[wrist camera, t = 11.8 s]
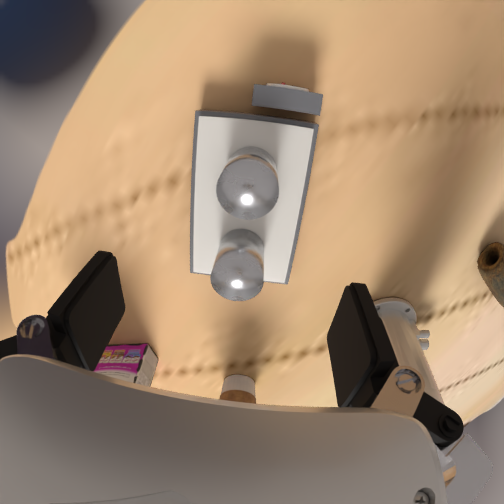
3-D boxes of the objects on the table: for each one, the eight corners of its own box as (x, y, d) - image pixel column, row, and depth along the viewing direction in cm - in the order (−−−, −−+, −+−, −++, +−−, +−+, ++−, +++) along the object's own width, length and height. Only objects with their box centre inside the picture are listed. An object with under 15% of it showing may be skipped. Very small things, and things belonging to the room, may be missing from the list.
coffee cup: (235, 364, 48) (226, 441, 35) (270, 382, 50) (269, 454, 37) (208, 382, 51) (197, 450, 38) (242, 398, 54) (237, 462, 41)
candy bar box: (115, 360, 50) (88, 427, 36) (102, 344, 48) (70, 412, 34) (161, 360, 49) (137, 436, 34) (148, 342, 46) (119, 421, 32)
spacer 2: (267, 231, 31) (266, 261, 26) (261, 269, 33) (259, 303, 28) (220, 225, 31) (211, 254, 26) (218, 264, 33) (209, 297, 28)
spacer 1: (279, 149, 26) (282, 164, 21) (273, 196, 29) (275, 222, 24) (227, 144, 26) (217, 158, 21) (224, 192, 29) (215, 216, 24)
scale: (319, 91, 26) (329, 90, 21) (286, 272, 37) (288, 297, 33) (203, 78, 25) (192, 75, 21) (194, 261, 37) (185, 284, 33)
